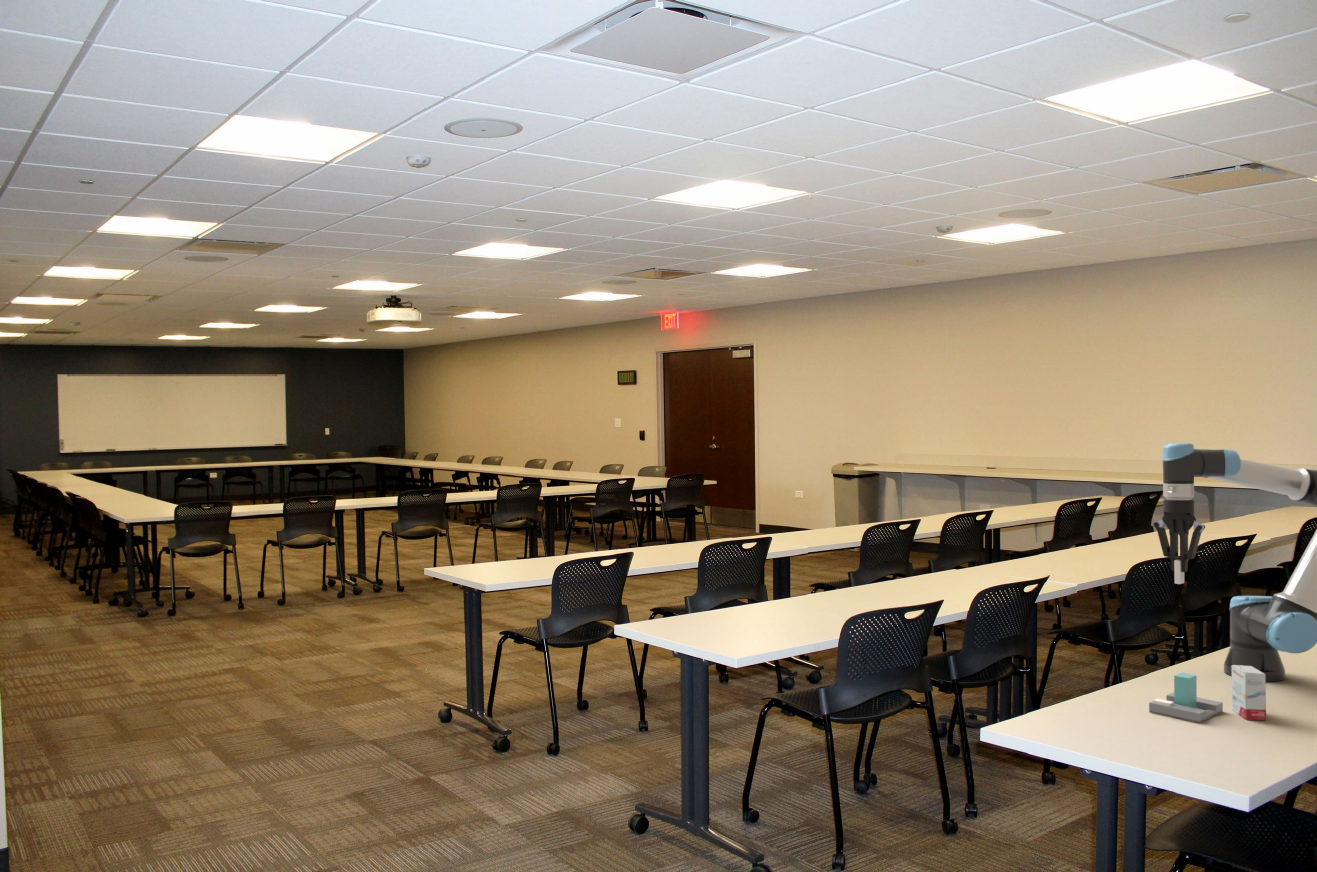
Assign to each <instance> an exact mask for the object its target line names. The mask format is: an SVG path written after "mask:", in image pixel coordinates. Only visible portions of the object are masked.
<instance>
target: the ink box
mask: <svg viewBox="0 0 1317 872" xmlns="http://www.w3.org/2000/svg"><path fill="white" fill-rule="evenodd" d="M1266 682H1267V681H1265V674H1264V673H1262V672H1261V671H1259V670H1257V669H1256V668H1254V667H1252V666H1243V665H1232V676H1231V710H1232V711H1233V712H1235V713H1236V714H1237V715H1239V716H1240V717H1242V718H1243V719H1245V720H1247V721H1267V696H1266V695H1267V693H1266V692H1267V691H1266V690H1267V689H1266V688H1267V687H1266V685H1267V684H1266Z"/></svg>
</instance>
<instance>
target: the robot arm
mask: <svg viewBox="0 0 1317 872" xmlns="http://www.w3.org/2000/svg"><path fill="white" fill-rule="evenodd" d="M1162 449H1163V450H1162V458H1161V461H1162V476H1163V477H1162V482H1163V483H1162V484H1163V485H1162V491H1163V492H1162V494H1163V495H1162V496H1163V498H1164V499H1163V501H1162V505H1163V509H1162V510H1163V514H1162V517H1161V519H1160V520H1158V521H1155V522H1153V524H1152V525H1153V526H1154V528H1155V530H1156V531H1157V534H1158V539H1159V543H1160V544H1159V545H1160V547H1161V550H1162V555H1163V556H1164V557H1166V558H1168V559H1170V570H1171V571H1172V572H1174V573H1173V574H1174V575H1173V576H1174V577H1173V578H1174V579H1173V580H1174V584H1177V585H1182V584H1185V573H1187V572H1188V565H1189V564H1188V562H1189V560H1192V559H1194V558H1195V557H1196V554H1197V550H1198V548H1199V544H1200V539H1201V536H1202V533H1203V531H1204V530H1205V529H1206V525H1205V524H1201V523H1200V522H1198V521H1197V519H1196V516H1195V500H1193V499H1194V497H1195V478H1205V479H1210V480H1213V481H1214V480H1215V481H1218V482H1223V483H1228V484H1233V485H1239V486H1242V487H1246V488H1247V487H1248V488H1252V489H1256V490H1261V491H1266V492H1271V493H1276V494H1280V495H1285V496H1287V497H1288V498H1289V499H1290V500H1292V501H1296V502H1300V503H1303V504H1304V503H1305V504H1308V505H1311V506H1314V507H1317V469H1307V468H1303V467H1298V468H1295V469H1292V468H1291V469H1290V468H1285V467H1281V466H1277V465H1270V464H1267V463H1262V462H1257V461H1252V460H1248V459H1242V458H1241V457H1240V455H1239V453H1238V452H1237V451H1236V450H1233V449H1224V448H1223V449H1207V448H1205V449H1204V448H1203V449H1202V448H1195V446H1194V444H1192V443H1190V442H1189V443H1188V442H1186V443H1185V442H1184V443H1183V442H1179V443H1178V442H1175V443H1173V442H1172V443H1169V442H1168V443H1166V444H1164V446H1163V448H1162ZM1165 527H1166V528H1167V529H1168V535H1169V538H1168V535H1167V531H1166V528H1165ZM1192 527H1193V528H1192ZM1191 529H1193V532H1192V534H1191V539H1190V543H1189V535H1190V534H1189V533H1190V532H1189V531H1190V530H1191ZM1229 618H1230V619H1229V620H1230V621H1229V622H1230V625H1229V626H1230V627H1229V628H1230V634H1229V635H1230V647H1229V649H1228V652H1227V655H1226V657H1225V659H1224V663H1223V673H1225V674H1226V675H1228V676H1230V677H1232V665H1243V666H1252V667H1254V668H1256V669H1257V670H1259V671H1261V672H1262V673H1264V674H1265V681H1266V682H1280V681H1284V680H1285V679H1286V669H1285V666H1284V664H1283V661H1282V658H1281V656H1280V653H1279V652H1283V653H1289V654H1296V655H1297V654H1302V653H1305V652H1308V651H1310V650H1311V649H1313V648H1314V647H1315V646H1316V644H1317V529H1316V530H1315V531H1314V534H1313V535H1312V537H1311V539H1310V541H1309V542H1308V545H1307V546H1306V548H1305V550H1304V552H1303V554H1302V555H1301V557H1300V559H1299V560H1298V563H1297V565H1296V566H1295V568H1294V571H1293V572H1292V574H1291V576H1290V577H1289V579H1288V581H1287V583H1286V585H1285V587H1284V589H1283V591H1281V592H1278V593H1274V594H1273V595H1272V596H1271V595H1270V596H1269V595H1267V596H1266V595H1237V596H1233V597H1232V598H1231V599H1230V602H1229Z"/></svg>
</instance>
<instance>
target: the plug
mask: <svg viewBox="0 0 1317 872" xmlns="http://www.w3.org/2000/svg"><path fill="white" fill-rule="evenodd" d="M1173 677H1174V678H1173V680H1174V681H1173V684H1174V685H1173V686H1174V687H1173V688H1174V704H1179V705H1183V706H1188V707H1193V708H1197V697H1198V696H1197V694H1198V693H1197V692H1198V691H1197V689H1198V688H1197V674H1191V673H1185V672H1180V673H1177V674H1175V675H1174V676H1173Z"/></svg>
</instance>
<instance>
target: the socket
mask: <svg viewBox="0 0 1317 872" xmlns="http://www.w3.org/2000/svg"><path fill="white" fill-rule="evenodd" d="M1223 707H1224V703H1223V701H1218V700H1212V699H1207V698H1202V697H1198V696H1197V708H1193V707H1188V706H1183V705H1179V704H1174V692H1171V693H1169V694H1166V699H1162V698H1156V699H1154V700H1152V701H1150V702H1148V708H1149V709H1148V710H1149V713H1152V714H1156V715H1161V716H1166V717H1170V718H1174V719H1179V720H1182V721H1183V720H1184V721H1189V722H1192V723H1197V724H1201V723H1203V722H1205V721H1207V720H1209V719H1211V718H1214V717H1215V716H1217V715H1219V714H1221V713H1223V712H1224V711H1223V710H1224V708H1223Z"/></svg>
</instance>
